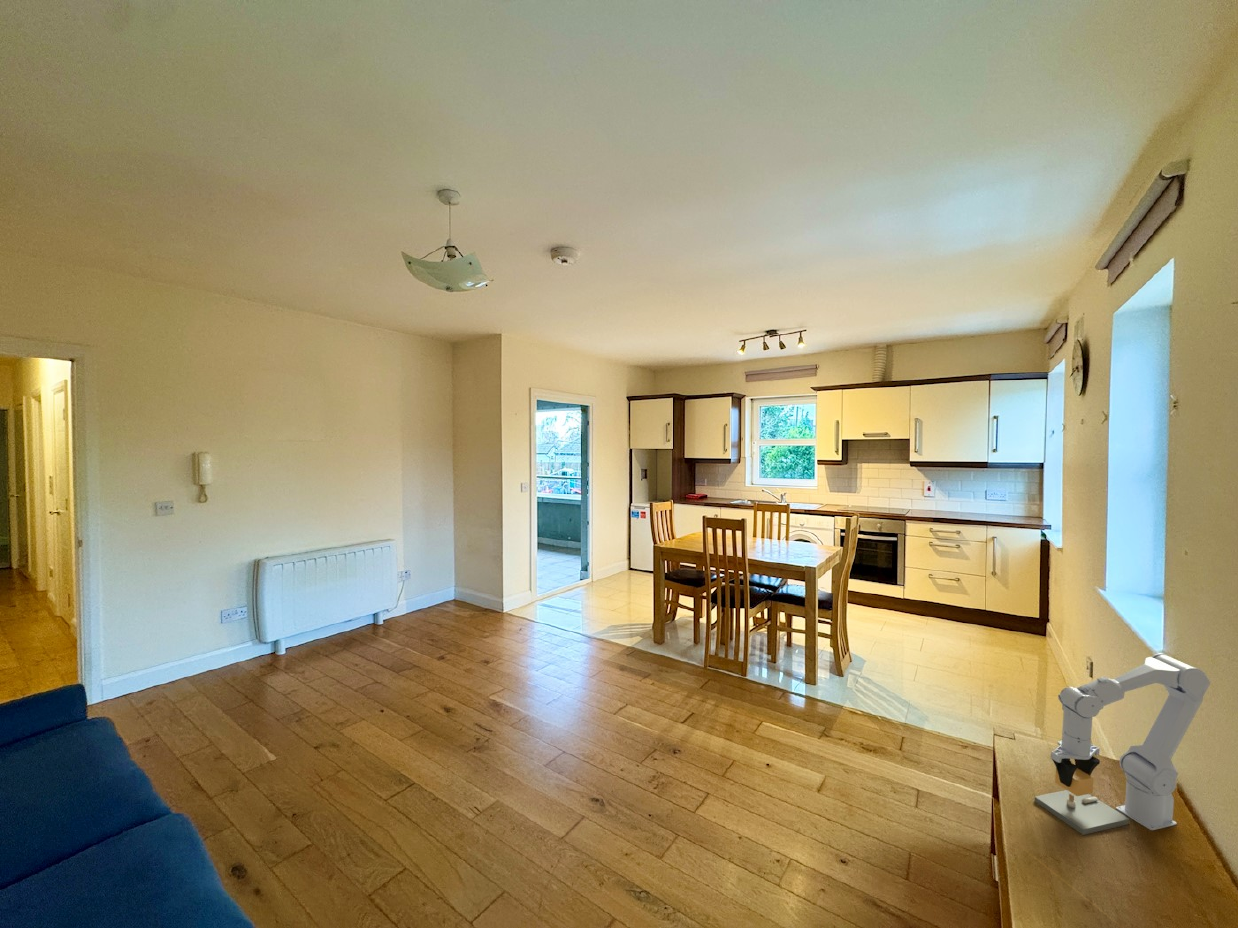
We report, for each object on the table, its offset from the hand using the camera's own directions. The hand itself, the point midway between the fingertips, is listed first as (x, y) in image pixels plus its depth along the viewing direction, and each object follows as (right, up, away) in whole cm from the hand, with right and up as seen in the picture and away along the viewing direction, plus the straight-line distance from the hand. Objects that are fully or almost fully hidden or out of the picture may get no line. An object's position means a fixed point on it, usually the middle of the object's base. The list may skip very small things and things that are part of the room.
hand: (1073, 782), depth 136 cm
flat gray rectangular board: (+2, -8, 0) cm, 9 cm away
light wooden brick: (0, -1, 0) cm, 1 cm away
